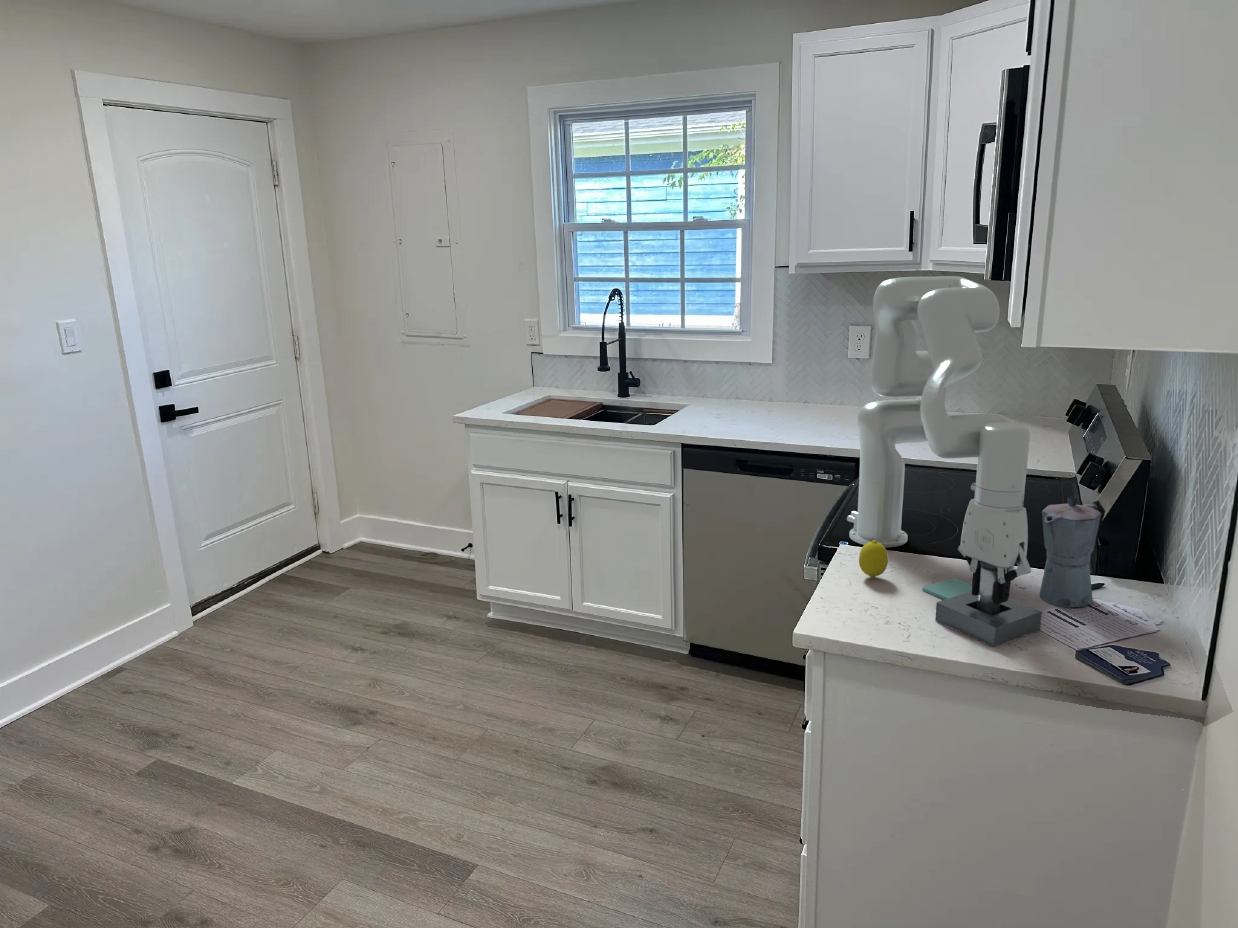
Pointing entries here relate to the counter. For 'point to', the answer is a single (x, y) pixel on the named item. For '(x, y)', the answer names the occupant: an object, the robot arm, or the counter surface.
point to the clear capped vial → (987, 589)
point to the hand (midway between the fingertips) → (989, 596)
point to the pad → (948, 588)
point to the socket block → (988, 619)
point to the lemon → (873, 559)
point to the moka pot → (1069, 552)
